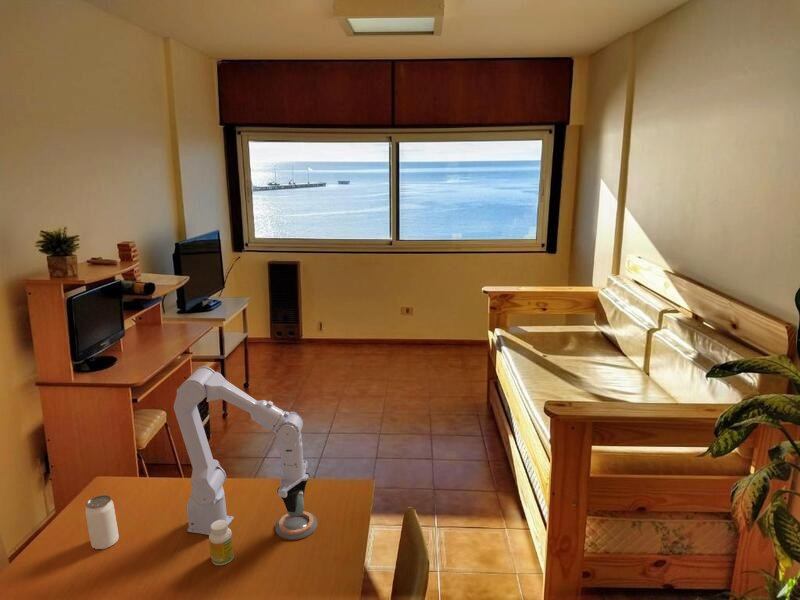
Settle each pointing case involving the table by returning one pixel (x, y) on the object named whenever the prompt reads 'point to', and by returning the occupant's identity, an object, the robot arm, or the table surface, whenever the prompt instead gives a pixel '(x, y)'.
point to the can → (101, 522)
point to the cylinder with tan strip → (298, 505)
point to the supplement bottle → (221, 543)
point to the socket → (296, 526)
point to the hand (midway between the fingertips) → (295, 505)
